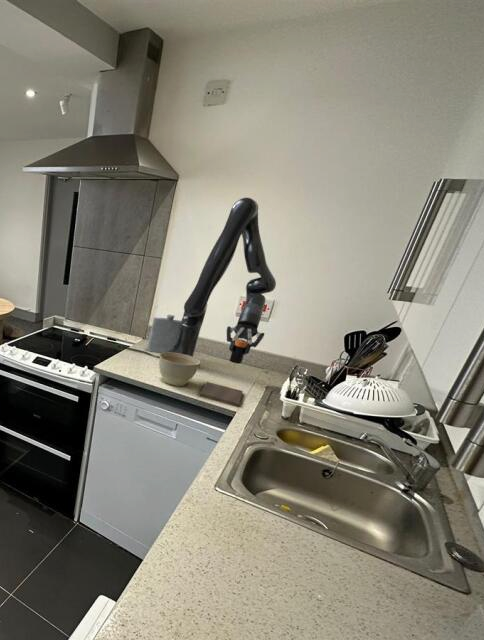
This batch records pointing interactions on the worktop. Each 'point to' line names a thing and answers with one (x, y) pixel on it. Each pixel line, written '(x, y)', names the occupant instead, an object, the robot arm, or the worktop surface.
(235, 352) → the battery
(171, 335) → the hip flask
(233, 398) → the walnut board
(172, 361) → the planter bowl
